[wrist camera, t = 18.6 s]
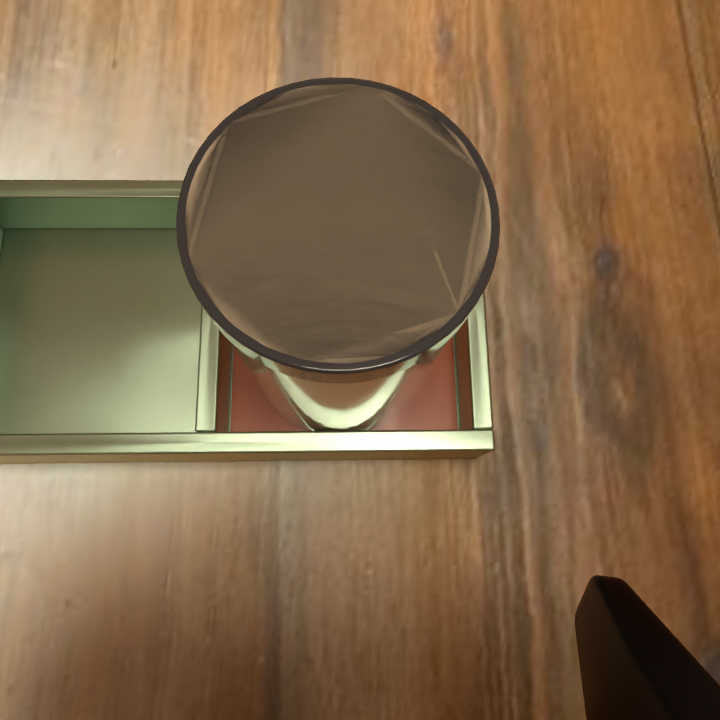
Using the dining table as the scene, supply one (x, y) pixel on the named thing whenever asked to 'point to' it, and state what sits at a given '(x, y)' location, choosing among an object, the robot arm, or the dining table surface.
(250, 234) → the jar
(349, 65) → the dining table surface
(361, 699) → the dining table surface
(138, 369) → the tray
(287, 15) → the dining table surface
